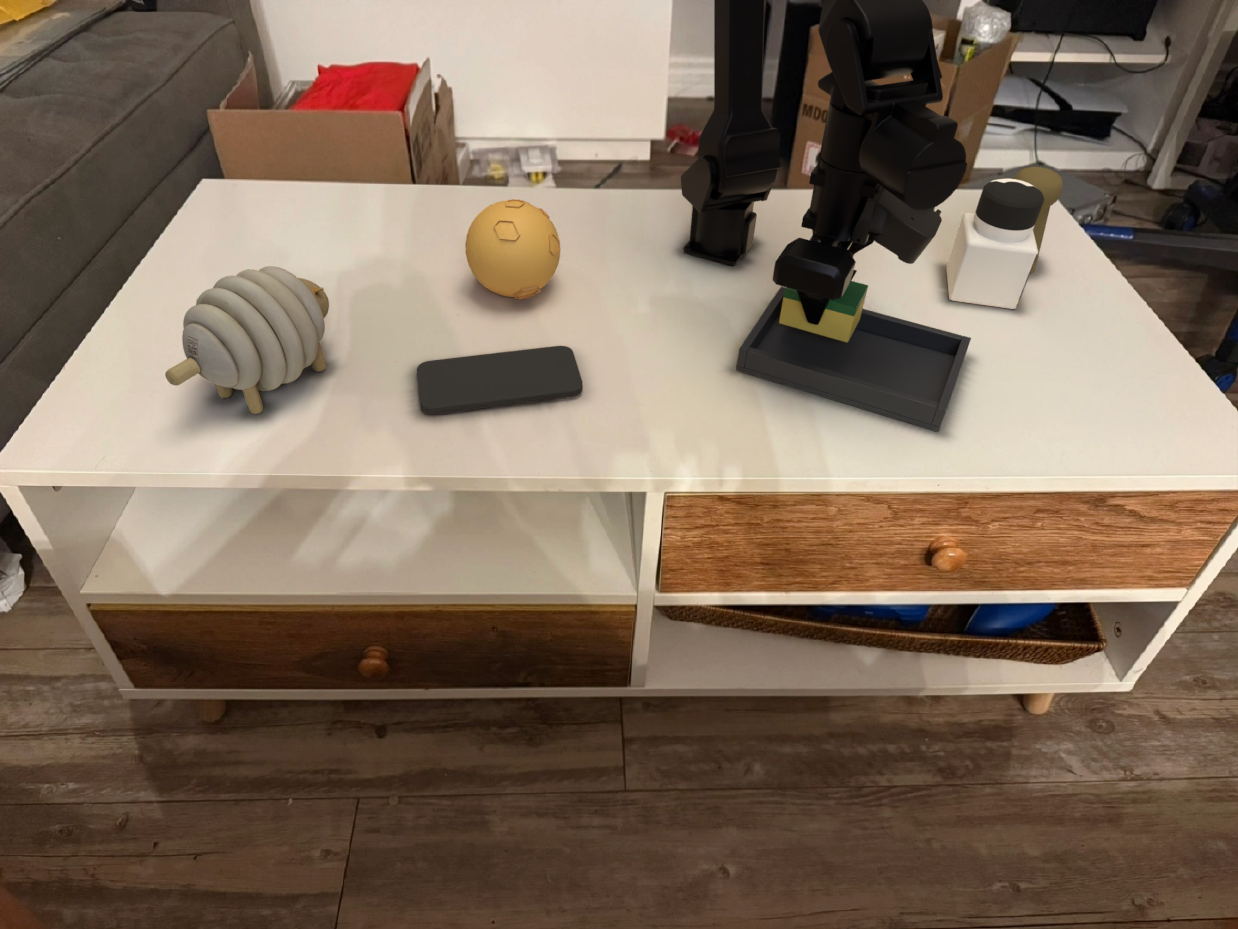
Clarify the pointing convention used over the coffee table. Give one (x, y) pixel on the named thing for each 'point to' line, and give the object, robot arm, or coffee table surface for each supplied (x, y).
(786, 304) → the sponge
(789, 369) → the tray
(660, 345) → the coffee table surface
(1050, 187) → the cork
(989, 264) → the medicine bottle
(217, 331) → the toy sheep
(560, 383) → the phone
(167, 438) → the coffee table surface
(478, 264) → the stress ball
